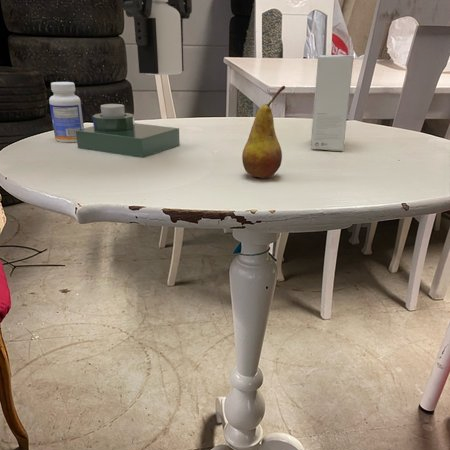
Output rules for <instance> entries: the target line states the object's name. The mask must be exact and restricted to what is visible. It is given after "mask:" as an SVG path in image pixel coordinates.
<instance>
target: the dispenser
mask: <svg viewBox="0 0 450 450" xmlns="http://www.w3.org/2000/svg"><path fill="white" fill-rule="evenodd" d="M91 118H92V125H93V126H89V127H88V126H87V127H84V128H83V129H79V130H76V137H77V142H76V144H77V148H78V149H82V150H87V151H89V150H90V151H95V152H100V153H101V152H103V153H107V154H108V153H109V154H115V155H123V156H127V157H135V158H147V157H149V156H152V155H155V154H159V153H162V152H164V151H168V150H171V149H173V148H176V146H177V147H179V145H181V141H180V139H181V138H180V128H179V127H173V126H171V127H170V126H163V125H153V124H144V123H137V122H136V123H135V115H134V114H133V113H130V112H125V116H124V117H116V118H107V117H102V114H101V112H100V113H95V114H94V115H93V114H92V117H91Z"/></svg>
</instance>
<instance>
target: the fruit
mask: <svg viewBox="0 0 450 450" xmlns="http://www.w3.org/2000/svg"><path fill="white" fill-rule="evenodd" d="M285 89H286V86H285V85H282V86H281V87H280V88H279V89H278V90H277V92H276V93H275V94H274V96H273V97H272V98H271V99H270V100H269V102H268V103H264V104H263V105H261V106H260V107H259V109H258V110H257V112H256V115H255V117H254V120H253V123H252V126H251V129H250V132H249V134H248V135H249V136H248V138H247V141H246V143H245V145H244V147H243V150H242V154H241V160H242V161H241V162H242V166H243V169H244V170H245V172H246V173H247V174H248V175H250V176H251V177H254V178H260V179H268V178H270V177H272V176H273V175H275V173H277V172H278V170H279V168H280V167H281V164H282V160H283V151H282V148H281V144H280V142H279V140H278V137H277V134H276V131H275V123H274V115H273V111H272V108H271V104H272V103H273V102H274V100H275V99H276V98H277V97H278V95H280V94H281V92H283V91H284V90H285Z"/></svg>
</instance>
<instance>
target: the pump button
mask: <svg viewBox="0 0 450 450" xmlns="http://www.w3.org/2000/svg"><path fill="white" fill-rule="evenodd" d="M100 113H101V114H102V117H107V118H116V117H124V116H125V113H126V110H125V105H124V104H121V103H105V104H101V105H100Z"/></svg>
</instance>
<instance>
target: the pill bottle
mask: <svg viewBox="0 0 450 450" xmlns="http://www.w3.org/2000/svg"><path fill="white" fill-rule="evenodd" d="M50 90H51V92H52V93H53V95H51V96H50V97H49V99H48V104H49V108H50V115H51V122H52V129H53V134H54V139H55V141H57V142H59V143H67V144H69V143H71V144H72V143H77V137H76V130H79V129H83V128H85V126H84V119H83V118H84V117H83V110H82V102H81V98H80V97H79V96H78V95H76V94H75V92H76V85H75V83H74V82H72V81H53V82H50Z"/></svg>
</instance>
